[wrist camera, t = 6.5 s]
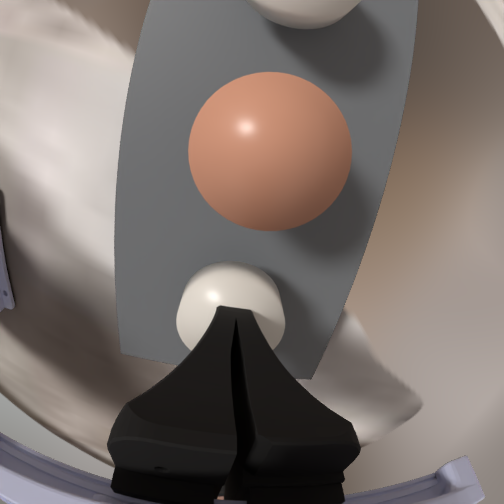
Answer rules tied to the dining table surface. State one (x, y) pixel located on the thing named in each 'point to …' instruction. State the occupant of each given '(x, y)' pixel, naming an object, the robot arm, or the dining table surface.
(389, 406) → the dining table surface
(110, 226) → the dining table surface
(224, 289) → the inner button
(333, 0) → the outer button
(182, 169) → the grey flat board
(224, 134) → the middle button
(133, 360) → the dining table surface
